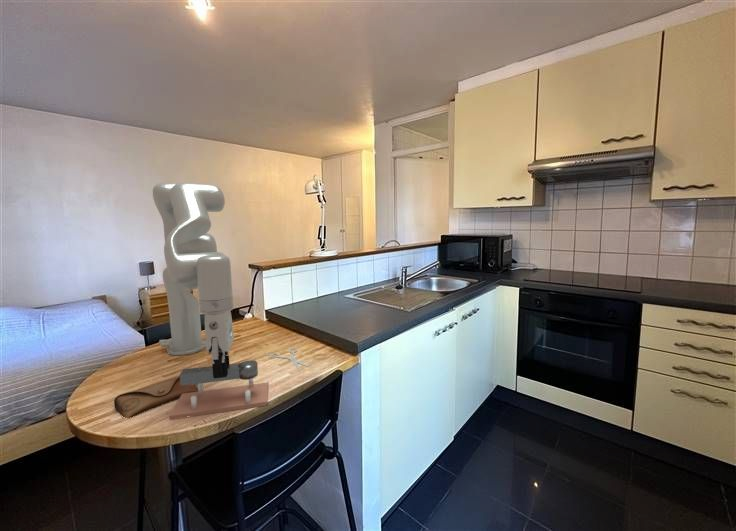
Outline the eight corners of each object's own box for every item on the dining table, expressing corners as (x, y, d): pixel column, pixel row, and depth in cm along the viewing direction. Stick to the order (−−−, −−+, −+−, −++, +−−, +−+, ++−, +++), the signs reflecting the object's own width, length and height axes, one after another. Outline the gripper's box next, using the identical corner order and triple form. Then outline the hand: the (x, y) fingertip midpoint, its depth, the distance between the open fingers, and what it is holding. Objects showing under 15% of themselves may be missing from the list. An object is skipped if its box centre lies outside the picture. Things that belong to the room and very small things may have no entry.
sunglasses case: (123, 421, 73) (116, 393, 74) (118, 425, 77) (112, 398, 78) (203, 390, 86) (196, 366, 88) (195, 394, 91) (188, 372, 92)
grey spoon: (179, 387, 75) (178, 376, 75) (185, 378, 80) (184, 367, 79) (257, 378, 80) (256, 367, 79) (258, 370, 84) (258, 359, 84)
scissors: (292, 346, 116) (321, 363, 101) (292, 348, 116) (321, 366, 101) (264, 354, 109) (291, 374, 94) (265, 356, 109) (292, 376, 94)
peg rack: (169, 419, 73) (167, 404, 73) (182, 397, 83) (181, 383, 82) (266, 405, 79) (266, 390, 78) (268, 385, 88) (267, 372, 88)
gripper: (227, 312, 70) (232, 387, 73) (237, 296, 86) (241, 359, 88) (190, 314, 68) (197, 392, 71) (207, 298, 84) (212, 362, 86)
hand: (221, 373), depth 80 cm, fingers closed on grey spoon, 2 cm apart
